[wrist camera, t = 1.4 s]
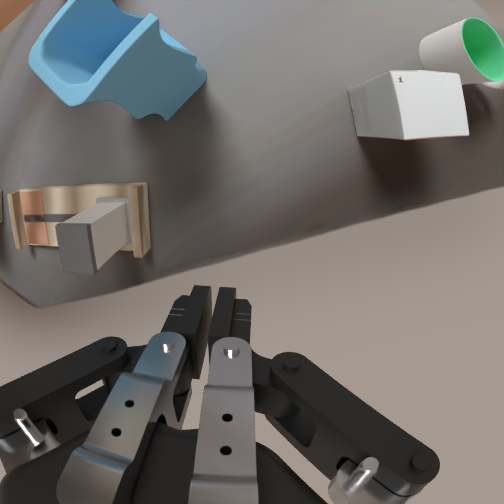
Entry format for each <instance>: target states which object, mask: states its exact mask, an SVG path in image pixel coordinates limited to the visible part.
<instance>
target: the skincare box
mask: <svg viewBox="0 0 504 504" xmlns="http://www.w3.org/2000/svg"><path fill="white" fill-rule="evenodd" d="M1 222H3V216H2V190H0V223H1Z"/></svg>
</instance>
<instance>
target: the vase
mask: <svg viewBox="0 0 504 504" xmlns="http://www.w3.org/2000/svg"><path fill="white" fill-rule="evenodd" d="M196 60H197V58H196V57H195V56H194V55H193V54H192V53H191V52H190V51H188V50H187V49H186V48H185V47H183V46H182V45H181V44H180V43H178V42H177V41H176V40H174V39H173V38H172V37H171V36H169V35H168V34H167V33H165V32H164V31H163V30H161V29H160V28H159V19H158V18H157V17H156V16H154V15H153V14H151V13H149V14H148V15H147V16H146V17H144V16H142V15H135V14H129V13H126V12H123V11H122V10H120V9H119V8H118V7H117V6H116V5H115V3H114V2H113V1H112V0H68V1H67V2H66V3H65V5H64V6H63V7H62V8H61V9H60V10H59V12H58V13H57V14H56V15H55V17H54V18H53V19H52V20H51V22H50V23H49V24H48V26H47V27H46V28H45V30H44V31H43V32H42V34H41V35H40V37H39V38H38V39H37V41H36V42H35V44H34V46H33V47H32V49H31V52H30V55H29V65H30V67H31V69H32V70H33V71H34V72H35V73H36V74H37V75H38V76H39V77H40V78H41V79H42V80H43V81H44V82H45V83H46V84H47V86H48V87H49V88H50V89H51V90H52V91H53V92H54V93H55V94H56V95H57V96H58V97H59V98H60V99H61V100H62V101H63V102H64V103H66V104H67V105H69V106H78V105H82V104H85V103H89V102H93V101H101V100H106V101H112V102H114V103H117V104H119V105H120V106H122V107H123V108H124V109H126V110H127V111H128V112H129V113H130V114H131V115H132V116H133V117H134V118H136V119H141V118H143V117H144V116H146V115H149V114H152V113H156V114H159V115H160V116H162V117H163V118H164V119H165V120H166V121H168V120H169V119H170V118H171V117H172V116H173V115H174V114H175V112H176V111H177V110H178V109H179V108H180V107H181V106H182V105H183V104H184V103H185V102H186V101H187V100H188V99H189V98H190V97H191V96H192V95H193V94H194V93H195V92H196V91H197V90H198V89H199V88H200V87H201V86H202V85H203V83H204V82H205V81H206V78H207V73H206V71H205V70H204V69H203V68H202V67H201V66H200V65H199V64H198V63H196Z"/></svg>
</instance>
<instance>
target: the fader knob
mask: <svg viewBox="0 0 504 504" xmlns="http://www.w3.org/2000/svg"><path fill="white" fill-rule="evenodd" d="M55 229H56V236H57V242H58V247H59V253H60V258H61V263H62V267H63V272H70V273H79V274H89V275H95V274H96V273H97V272H98V271H97V270H98V269H99V268H100V267H101V266H102V265H103V264H104V263H105V262H106V261H107V260H108V259H109V258H111V257H112V256H113V255H114V254H115V253H116V252H117V251H118V250H119V249H120V248H121V247H122V246H123V245H124V244H133V243H132V233H131V221H130V207H129V197H99V198H97V199H96V205H94V206H92V207H90V208H88V209H86V210H84V211H82V212H81V213H79V214H77V215H75V216H73V217H71V218H70V219H68V220H66V221H64V222H62V223H58V224H56V225H55Z"/></svg>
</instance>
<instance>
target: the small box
mask: <svg viewBox="0 0 504 504" xmlns="http://www.w3.org/2000/svg"><path fill="white" fill-rule="evenodd" d="M348 94H349V98H350V103H351V108H352V112H353V117H354V122H355V127H356V133H357V136H359V137H375V138H388V139H398V140H417V139H430V138H444V137H461V136H469V129H468V121H467V114H466V108H465V102H464V96H463V91H462V85H461V80H460V75H459V74H457V73H448V72H437V71H426V70H417V71H389V72H387V73H384V74H382V75H379V76H377V77H374V78H372V79H370V80H367V81H365V82H363V83H361V84H359V85H356V86H354V87H351V88H349V89H348Z"/></svg>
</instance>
